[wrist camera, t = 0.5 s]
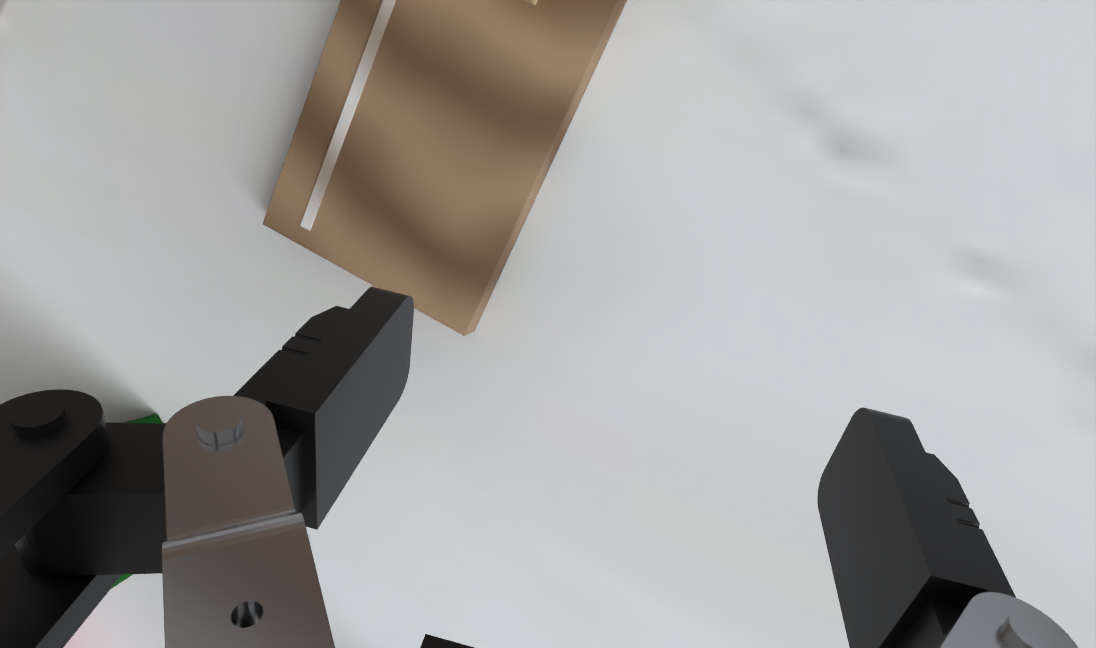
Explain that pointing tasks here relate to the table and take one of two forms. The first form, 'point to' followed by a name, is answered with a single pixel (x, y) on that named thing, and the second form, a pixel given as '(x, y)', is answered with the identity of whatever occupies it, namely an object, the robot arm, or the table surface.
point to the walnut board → (435, 139)
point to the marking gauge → (532, 1)
